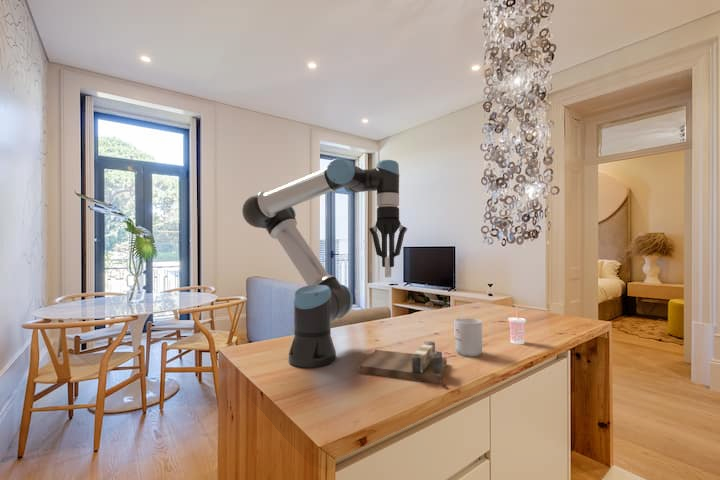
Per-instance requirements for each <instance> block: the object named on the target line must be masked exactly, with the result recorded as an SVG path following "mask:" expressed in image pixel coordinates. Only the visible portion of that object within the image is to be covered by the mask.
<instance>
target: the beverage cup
mask: <svg viewBox="0 0 720 480" xmlns="http://www.w3.org/2000/svg"><path fill="white" fill-rule="evenodd" d="M518 307H519V306H518V305H516V306H515V313H516V314H515V315H516V316H515V317H508V318H507V319H508V324H509V335H510V336H509V338H510V343H511V344H515V345H524V344H525V332H526V331H525V329H526V321H527V320H526V319H525V318H523V317H518V312H519V311H518Z"/></svg>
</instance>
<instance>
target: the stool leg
mask: <svg viewBox="0 0 720 480" xmlns="http://www.w3.org/2000/svg"><path fill="white" fill-rule="evenodd" d="M412 354H413V355H412V356H411V371H413V372H416V373H422V372H423V371H424V370H425V368H426V367H427V366H428V365H429V363H430V362H431V361H432V359H433V358H434V356H435V354H436V343H435V342H434V341H431V340H426V341H425V340H424V341H423V344H422V345H421V346H420V347H419V348H418V349H417V350H416V351H415V352H414V353H412Z"/></svg>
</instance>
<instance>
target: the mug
mask: <svg viewBox="0 0 720 480" xmlns="http://www.w3.org/2000/svg"><path fill="white" fill-rule="evenodd" d="M453 336H454V350H455V351H456V352H457V354H459V355H461V356H463V357H470V358H471V357H475V358H476V357H478V356H480V355H481V354H482V353H483V321H482V320H480V319H477V318H471V317H470V318H468V317H460V318H455V320H454V321H453Z"/></svg>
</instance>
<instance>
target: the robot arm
mask: <svg viewBox="0 0 720 480" xmlns="http://www.w3.org/2000/svg"><path fill="white" fill-rule="evenodd" d="M341 188H344V189H345V191H346V192H347V193H354V194H357V193H362V192H373V191H374V192H376V206H377V208H376V221H375V225H373V227H369V229H368V230H369V233H370V234H371V236H372V242H373V244H374V248H375V253H376V255H377V256H379V257H381V266H382V267H381V268H384V278H392V268H394V267H395V258H396V257H397V256H400V254H401V251H402V246H403V241H404V237H405V234H406V233H407V230H408V227H406V226H404V225H403V224H402V223H401V221H400V208H399V206H400V169H399V162H397V161H396V160H392V159H383V160H379V161H377V163H376V168H369V169H363V168H361V167H358V166H357V165H355V164H353V163H352V162H351V161H349V160H346V159H344V158H340V157H339V158H338V157H337V158H334V159H332V160H331V161H330V162H329V163H328V165H327V167H326V168H323V169H321V170H318V171H316V172H313V173H312V174H307V175H306V176H304V177H302V178H299V179H297V180H294V181H291V182H289V183H287V184H285V185H282V186H279V187H277V188H275V189H273V190H272V189H271V190H270V191H265V190H263V191H259V192H258V193H255V194H253V195H251V196H250V197H248V198H247V199H246V200H245V201H244V202H243V203H244V204H243V205H242V212H241V213H242V217H243V218H244V220H245V222H246V223H247V224H249V225H250V226H252V227H254V228H260V229H265V230H266V231H267V233H268V234H269V236H270V237H271V238H272V239H275V240H277V241H278V242H279V243H280V245H281V247H282V248H283V250H284V251H285V254H287V256H288V257H289V259H290V261H291V263H292V264H293V265H294V267H295V269H296V270H297V271H298V273H299V274H300V276H301V277H302V280H303V281H304V282H305V284H306V286H302V287H299V288H297V290H295V294H294V300H293V306H294V307H293V308H294V316H293V317H294V318H293V319H294V320H293V322H294V327H293V329H294V330H293V331H294V333H293V334H294V336H293V339H292V341H291V342H292V343H291V346H290V349H289V350H288V351H289V352H288V363H289V364H290V365H292V366H295V367H297V368H298V367H299V368H311V369H312V368H320V367H326V366H329V365H331V364H333V363H334V362H335V361H336V359H337V351H336V349H335V344H334V342H333V338H332V336H331V325H332V324H331V322H332V321H334V320H337V319H340V318H343V317H344V316H345V315H347V314H348V313H349V312H350V311H351V309H352V308H353V304H354V296H353V292H352V290H350V288H349V287H348V286H347V285H345V284H341V283H340V282H339V280H338V279H337V277H336V276H335V275H331V274H329V273H328V271H327V270H326V268H325V267H324V266H323V264H322V263H321V261H320V260H319V259H318V257H317V256H316V254H315V252H314V251H313V249H312V248H311V247H310V245H309V243H307V241H306V239H305V238H304V237H303V234H301V232H300V231H299V229H298V228H297V226H298V225H297V224H298V222H297V218H296V215H297V214H296V211H295V208H294V207H295V206H297V205H300V204H302V203H305V202H308V201H309V200H312V199H316V198H317V197H320V196H323V195H326V194H329V193H331V192H333V191H336V190H339V189H341ZM378 231H379V232H380V236H381V244H380V239H379V235H378ZM397 231H399V233H398V235H397V236H398V237H397V240H396V245H395V236H396V233H397ZM388 252H389V253H388Z"/></svg>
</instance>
